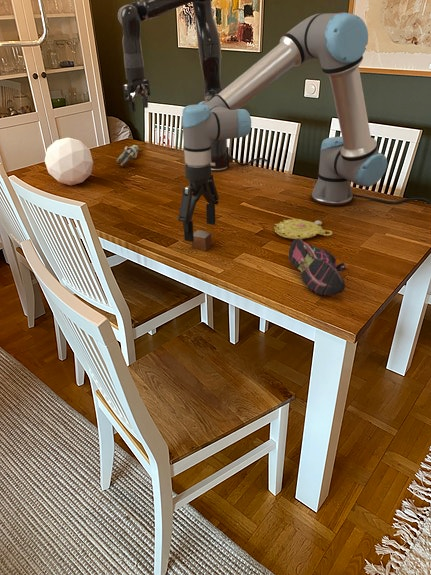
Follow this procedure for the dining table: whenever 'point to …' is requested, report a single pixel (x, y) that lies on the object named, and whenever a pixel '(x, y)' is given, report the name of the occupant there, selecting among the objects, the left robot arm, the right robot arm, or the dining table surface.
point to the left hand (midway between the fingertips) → (139, 109)
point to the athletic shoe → (317, 268)
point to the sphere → (69, 161)
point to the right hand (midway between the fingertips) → (200, 232)
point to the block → (202, 240)
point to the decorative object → (300, 229)
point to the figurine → (128, 154)
